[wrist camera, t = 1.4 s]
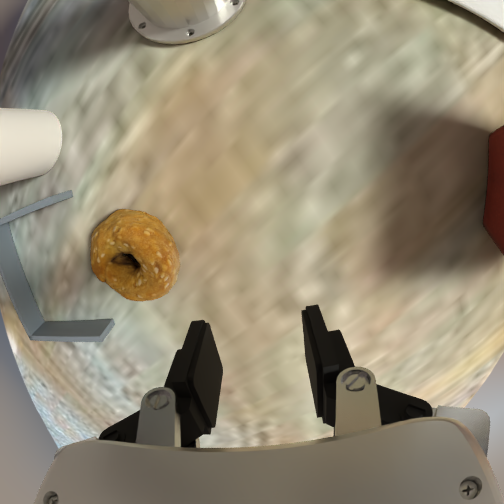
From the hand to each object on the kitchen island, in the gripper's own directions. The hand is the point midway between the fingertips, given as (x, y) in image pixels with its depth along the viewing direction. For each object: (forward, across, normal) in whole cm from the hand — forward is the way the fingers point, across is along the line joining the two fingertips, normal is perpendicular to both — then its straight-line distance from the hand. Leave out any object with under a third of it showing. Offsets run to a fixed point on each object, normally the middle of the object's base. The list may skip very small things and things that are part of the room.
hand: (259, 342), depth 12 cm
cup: (+18, +24, -16) cm, 34 cm away
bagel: (+18, +13, 0) cm, 22 cm away
